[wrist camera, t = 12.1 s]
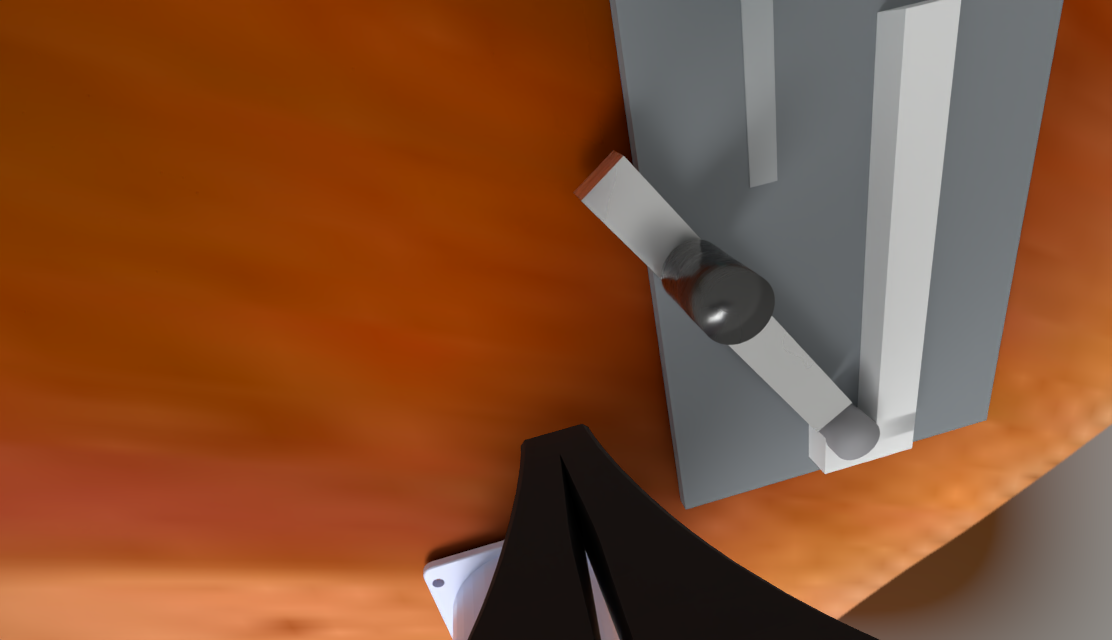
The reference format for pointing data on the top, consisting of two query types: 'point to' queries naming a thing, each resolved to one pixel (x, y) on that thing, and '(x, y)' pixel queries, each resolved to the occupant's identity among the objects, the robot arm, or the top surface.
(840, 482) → the top surface
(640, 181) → the black knobbed slide plate
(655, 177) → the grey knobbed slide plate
